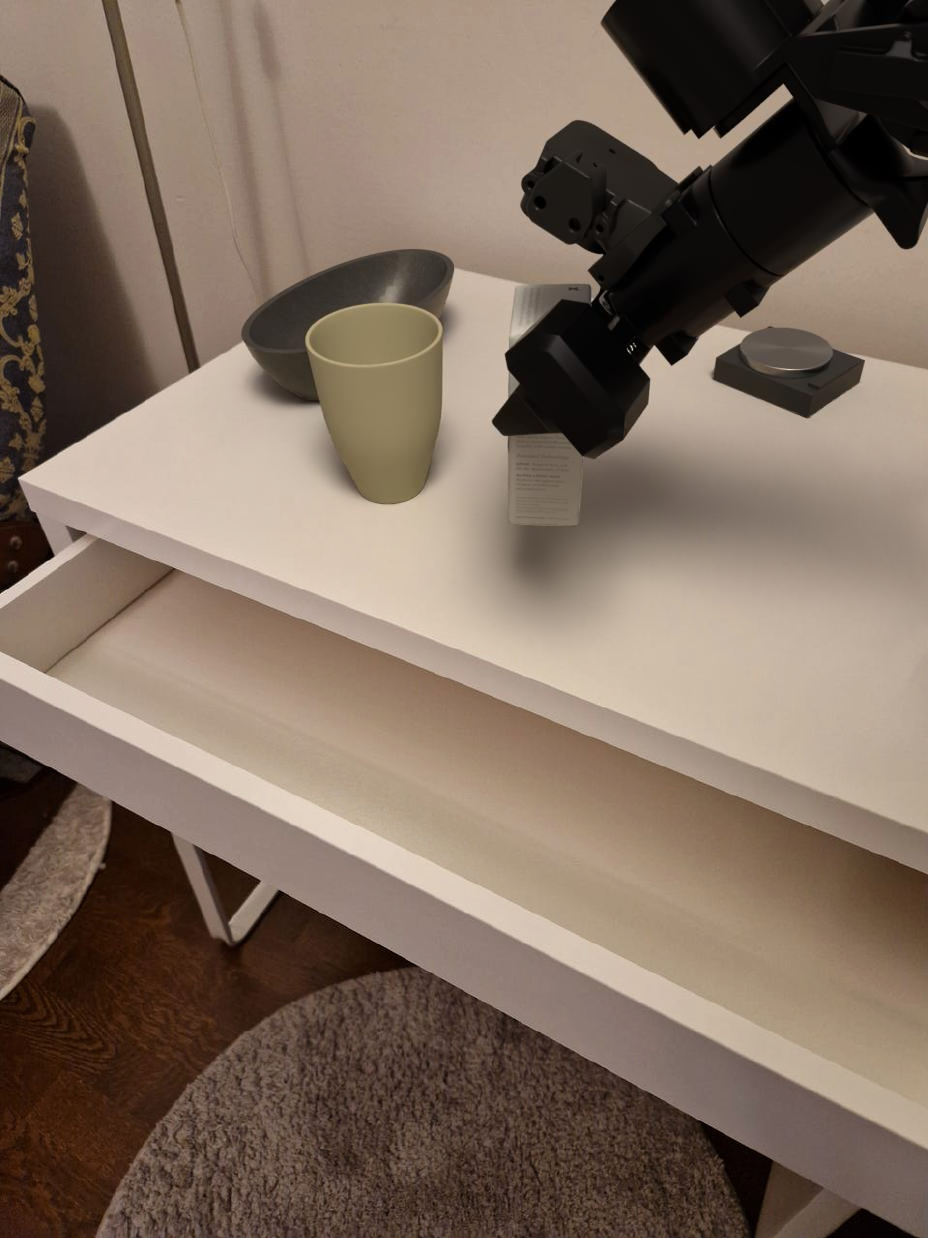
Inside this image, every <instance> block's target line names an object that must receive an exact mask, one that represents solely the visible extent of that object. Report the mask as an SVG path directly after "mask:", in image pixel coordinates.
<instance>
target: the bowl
mask: <svg viewBox="0 0 928 1238" xmlns="http://www.w3.org/2000/svg"><path fill="white" fill-rule="evenodd" d="M454 273H455V264H454V262H453V260H452V259H451V257H449V256H447V255H446V254H443V253H442V252H439V251H435V250H430V249H424V248H423V249H422V248H404V249H394V250H393V249H392V250H387V251H382V252H375V253H372V254H371V253H370V254H368V255H364V256H360V257H357V258H353V259H350V260H347V261H344V262H342V263H339V264H336V265H333V266H331V267H328V268H326V269H324V270H321V271H318V272H316V273H314V274H312V275H309V276H308V277H306V278H304V279H302V280H300V281H298V282H296V283H294V284H292V285H290V286H289V287H287V288H285V289H283V290H282V291H279V292H278V293H277V294H275V295H274V296H272V297H270V298H269V299H268V300H266V301H265V302H264V303H263V304H261V305H260V306H259V307H257V308H256V310H254V311H253V312H252V313H251V314H250V315H249V316H248V317H247V319H246V321H245V322H244V323H243V326H242V328H241V333H240V336H241V339H242V342H243V343H244V345H245V347H246V348H247V350H248V351H249V353H250V355H251V356H252V358H253V359H254V360H255V362H257V364H258V365H259V367H260V368H261V369H262V370H263V371H264V372H265V373H266V374H267V375H268V376H269V377H270V378H271V379H272V380H273V381H274V382H275V383H277V384H278V385H279V386H281V387H282V388H283V389H285V390H287V391H288V392H289V393H292V394H294V395H296V396H297V397H300V398H302V399H303V400H307V401H312V402H313V401H314V402H320V401H319V397H318V393H317V389H316V385H315V381H314V377H313V372H312V368H311V364H310V360H309V356H308V352H307V348H306V342H305V338H306V334H307V332H308V330H309V329H310V328H311V326H312V325H313V324H315V323H316V322H317V321H318V320H320V319H321V318H323V317H325V316H327V315H329V314H331V313H333V312H335V311H338V310H341V309H344V308H348V307H352V306H357V305H362V304H371V303H398V304H405V305H411V306H415V307H418V308H421V309H424V310H426V311H428V312H430V313H431V314H433V315H434V316H435V317H436V318H437V319H438V320H439V321H440V318H441V316H442V313H443V311H444V308H445V305H446V303H447V300H448V298H449V294H450V290H451V287H452V283H453V278H454Z"/></svg>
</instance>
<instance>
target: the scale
mask: <svg viewBox="0 0 928 1238" xmlns="http://www.w3.org/2000/svg"><path fill="white" fill-rule="evenodd" d="M714 362H715V363H714V368H713V369H714V370H713V376H712V380H714V381H717V382H719V383H721V384H724V385H726V386H728V387H731V388H733V389H736V390H738V391H740V392H744V393H745V394H748V395H751V396H752V397H755V398H758V399H761V401H762V400H763V401H765V402H768V403H770V404H772V405H775V406H777V407H780V408H782V409H784V410H787V411H789V412H791V413H795V414H797V415H799V416H802V417H804V418H807V419H808V418H810V417H811V416H812V415H814V414H816V413H817V412H819V411H820V410H822V409H823V408H824V407H826V406H827V405H829V404H830V403H832V402H833V401H834V400H836V399H837V398H839V397H840V396H842V395H843V394H845V393H846V392H847V391H849V390H850V389H852V388H854V387H855V386H857V384H859V383H860V382H861V379H862V375H863V370H864V367H865V363H866V360H865V359H863V358H860V357H857V356H854V355H852V354H850V353H846V352H843V351H842V350H838V349H835V348H833V346H832V345H831V344H830V342H829V341H828V340H827V339H825V338H824V337H822V336H820V335H818V334H816V333H814V332H810V331H808V330H804V329H799V328H793V327H774V326H771V325H769V326H767V327H765V328H761V329H758V330H755V331H752V332H750V333H749V334H747V335H746V336H745V337H743V339H742V340H741V342H740V343H738V344H736V345H735V346H733V347H731V348H730V349H728V350H726V351H724V352H723V353H720V354H719V355H718V356H716V357H715V361H714Z"/></svg>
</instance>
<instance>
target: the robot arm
mask: <svg viewBox="0 0 928 1238" xmlns="http://www.w3.org/2000/svg"><path fill="white" fill-rule="evenodd" d="M599 24H600V26H601V28H602V29H603V31H604V32H605V33H606V34H607V36H608V37H609V38H610V39H611V41H612V42H613V44H614V45H615V46H616V47H617V49H618V50H619V52H620V53H621V54H622V55H623V56H624V58H625V59H626V60H627V62H628V63H629V64H630V66H631V67H632V69H633V70H634V71H635V73H636V74H637V75H638V76H639V78H640V79H641V81H642V82H643V83H644V85H645V86H646V88H647V89H648V90H649V91H650V93H651V94H652V95H653V97H654V98H655V99H656V100H657V102H658V103H659V105H660V106H661V107H662V108H663V110H664V111H665V112H666V114H667V115H668V116H669V118H670V119H671V121H672V122H673V123H674V124H675V126H676V127H677V128H678V130H679V131H680V132H681V133H682V135H683V136H686V135H687V134H688V133H689V132H690V131H691V132H692V133H693V135H695V137H696V138H697V140H700V139H701V138H703V137H704V136H705V135H706V134H707V133H708V132H709V131H711V130H713V132H714V133H715V134H716V136H717V137H718V138H719V140H721V139H723V138H724V137H726V135H727V134H729V133H730V132H731V131H732V130H733V129H735V128H736V127H737V126H738V125H739V124H740V123H742V122H743V121H744V120H745V119H746V118H747V117H748V116H749V115H751V114H752V113H753V112H754V111H755V110H757V108H758V107H759V106H761V105H762V104H763V103H764V102H765V101H766V100H768V98H769V97H770V96H772V95H773V94H774V93H775V92H777V90H779V88H781V87H782V86H784V87H785V88H786V90H787V91H788V93H789V94H790V95H791V98H790V99H789V100H788V101H787V102H785V103H784V104H783V105H782V106H781V107H780V108H779V109H777V110H776V111H775V112H773V114H772V115H770V116H768V118H767V119H765V121H763V122H762V123H761V124H760V125H758V127H757V128H755V129H754V130H752V132H751V133H749V134H748V135H747V136H746V137H745V138H744V139H742V140H741V141H740V142H739V143H738V144H737V145H735V146H734V147H733V148H732V149H731V150H729V151H728V152H727V153H726V154H725V155H724V156H723V157H722V158H720V159H719V160H718V161H717V162H716V163H715V164H713V165H712V164H709V165H708V166H707V167H705V168H704V169H703V167H701V165H697V167H696V168H694V169H693V170H692V171H691V172H690V173H688V175H686V176H685V177H684V178H682V180H681V181H679V182H677V181H676V180H675V179H673V178H672V177H671V176H669V175H668V174H667V173H665V172H664V171H662V170H661V169H660V168H658V166H657V165H656V164H655V163H654V162H653V161H652V160H651V159H650V158H648V157H647V156H645V155H643V154H642V153H640V152H639V151H637V150H636V149H634V148H633V147H631V146H628V145H627V144H626V143H624V142H623V141H622V140H620V139H618V138H616V137H615V136H613V135H612V134H610V133H609V132H607V131H606V130H604V129H603V128H600V127H599V126H598V125H595V124H594V123H592V122H590V121H588V120H587V121H586V120H583V119H574V120H572V121H570V122H569V123H568V124H566V125H565V126H564V127H563V128H561V129H559V131H557V132H556V133H555V134H553V135H552V136H551V137H550V138H548V139H547V140H546V141H545V144H544V145H543V148H542V151H541V153H540V155H539V158H538V160H537V163H536V164H535V167H534V168H532V169H531V170H530V171H529V172H527V173H526V174H525V175H524V176H523V177H522V178H521V181H520V187H521V190H522V192H523V196H522V198H521V200H520V202H519V206H520V210H521V211H522V213H523V214H524V215H525V216H526V217H527V218H528V219H529V220H530V222H531V223H533V224H534V225H536V226H537V227H539V228H540V229H542V231H545V232H546V233H548V234H549V235H551V236H553V237H554V238H555V239H558V240H559V241H561V242H562V243H564V244H565V245H567V246H572V245H577V246H579V247H580V248H582V249H583V250H585V251H586V252H590V253H591V254H595V255H602V256H601V257H599V258H598V259H597V260H596V261H595V262H594V263H592V265H591V266H590V267H589V268H588V269H587V270H586V271H587V272H588V273H589V275H590V276H591V277H592V278H593V279H594V281H595V282H596V283H597V284H598V286H599V290H598V293H597V295H596V296H595V297H594V298H593V300H591V304H592V307H591V305H590V304H589V303H585V302H579V301H572V300H566V299H561V300H560V301H559V302H557V303H556V304H555V305H554V306H553V307H552V308H550V309H549V310H548V311H547V312H546V313H545V314H544V315H543V316H541V317H540V318H539V319H538V320H537V321H536V322H535V323H534V324H533V325H532V326H531V327H530V328H529V329H528V330H527V331H526V332H525V333H524V334H523V335H522V336H521V337H520V338H519V339H518V340H517V341H516V342H515V343H514V344H513V345H512V346H511V347H510V349H509V348H508V349H507V350H506V351H505V352H504V358H505V364H506V369H507V371H508V373H509V372H510V373H511V374H512V375H513V376H514V378H515V379H516V380H517V381H518V382H519V383H520V384H519V385H518V386H517V388H516V389H515V390H514V392H513V393H512V394H511V395H510V397H509V398H508V397H507V399H506V400H505V402H504V403H503V405H502V406H501V407H500V408H499V410H498V411H497V412H496V414H495V415H494V416H493V418H492V419H491V424H492V426H493V427H494V428H495V429H496V430H497V431H498V433H500V434H501V435H502V436H503V437H508V436H519V435H535V434H550V433H551V434H554V433H562V434H563V435H564V436H565V437H566V438H567V439H568V441H569V442H570V443H571V444H572V445H573V446H574V448H575V449H576V450H577V451H578V452H579V453H580V455H581V456H583V458H587V459H592V460H595V459H597V458H599V457H600V456H602V455H603V454H605V453H606V452H608V451H609V450H611V449H612V448H614V447H616V446H617V445H619V444H620V443H622V442H623V441H624V440H625V439H626V437H627V436H628V434H629V433H630V431H631V430H632V429H633V427H634V425H635V424H636V423H637V421H638V420H639V418H640V417H641V415H642V414H643V413H644V411H645V410H646V408H647V407H648V405H649V402H650V389H651V377H650V376H649V375H648V373H646V371H645V369H643V368H642V366H641V364H642V363H643V362H644V360H645V359H646V358H647V356H649V355H648V354H649V353H650V352H651V350H652V349H653V348H654V347H655V348H656V349H657V350H658V352H659V353H660V354H661V355H662V357H663V358H664V359H665V360H666V361H667V363H668V364H669V365H670V366H671V367H673V366H674V365H675V364H677V363H679V361H681V360H683V359H684V358H686V357H687V356H688V355H689V354H690V352H691V351H692V349H693V348H694V347H695V345H696V343H697V342H698V341H699V339H700V337H701V336H702V335H703V334H705V333H707V332H708V331H709V330H711V329H712V328H713V327H715V326H716V325H718V324H719V323H721V322H722V321H724V320H725V319H727V318H728V317H729V316H731V315H732V314H734V313H736V314H737V317H739V318H740V319H742V318H743V317H744V316H746V315H747V314H749V313H750V312H752V311H754V310H755V309H756V308H758V307H759V306H760V305H761V303H762V301H763V300H764V298H765V297H766V295H767V293H768V292H769V290H770V289H771V287H772V286H773V285H774V284H776V283H777V282H778V281H780V280H782V279H783V278H784V277H786V276H787V275H788V274H790V273H792V272H793V271H795V270H796V269H797V268H799V267H800V266H801V265H803V264H804V263H806V262H807V261H809V260H811V258H813V257H814V256H815V255H817V254H818V253H820V252H822V251H823V250H824V249H825V248H827V247H829V246H830V245H831V244H832V243H834V242H835V241H837V240H838V239H840V238H841V237H843V236H844V235H845V234H846V233H848V232H849V231H851V230H852V229H854V228H855V227H856V226H858V225H859V224H862V223H863V222H864V221H865V220H866V219H868V218H869V217H870V216H872V215H874V214H875V216H876V217H877V218H878V219H879V221H880V222H881V224H882V225H883V226H884V228H885V229H886V231H887V232H888V233H889V235H890V236H891V238H892V239H893V240H894V242H895V243H896V245H897V247H899V248H900V249H902V250H904V251H905V250H911V249H913V248H915V247H916V245H917V244H918V243H919V241H920V238H921V235H922V234H923V231H924V228H925V225H926V224H927V221H928V0H828V1H827V2H826V3H823V1H822V0H614V2H613V3H612V4H611V5H610V7H609V8H608V10H607V11H606V12H605V14H604V15H603V16H602V18H601V21H600V23H599ZM908 150H909V152H910V153H911V154H913V155H911V154H910V153H909V152H908ZM917 156H919V157H917ZM920 157H923V158H920ZM924 158H927V159H924Z"/></svg>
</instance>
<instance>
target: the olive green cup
mask: <svg viewBox="0 0 928 1238" xmlns="http://www.w3.org/2000/svg"><path fill="white" fill-rule="evenodd" d="M305 342H306V348H307V352H308V356H309V360H310V364H311V368H312V372H313V377H314V381H315V385H316V389H317V393H318V397H319V401H318V402H319V405H320V409H321V413H322V417H323V419H324V423H325V426H326V429H327V431H328V434H329V437H330V438H331V441H332V442H333V445H334V447H335V450H336V451H337V453H338V454H339V456H340V458H341V461H342V462H343V464H344V465H345V467H346V469H347V471H348V473H349V475H350V477H351V478H352V480H353V482H354V484H355V486H356V488H357V490H358V492H359V493H360V494H361V496H362V497H364V498H365V499H367V500H368V501H370V502H373V503H377V504H381V505H382V504H385V505H389V504H390V505H391V504H399V503H404V502H407V501H409V500H411V499H413V498H415V497H416V496H417V495H418V494H420V493H421V491H422V490H423V488H424V486H425V483H426V480H427V479H426V478H427V476H428V472H429V468H430V464H431V462H432V457H433V454H434V451H435V450H434V449H435V446H436V442H437V439H438V436H439V431H440V426H441V419H442V411H443V409H442V408H443V373H444V372H443V369H444V368H443V366H444V365H443V362H444V361H443V360H444V359H443V357H444V356H443V355H444V353H443V352H444V351H443V350H444V328H443V325H442V323H441V321H440V319H439V320H438V319H437V318H436V317H435V316H434V315H433V314H431V313H430V312H428V311H426V310H424V309H421V308H418V307H415V306H411V305H405V304H398V303H371V304H362V305H357V306H352V307H348V308H344V309H341V310H338V311H335V312H333V313H331V314H329V315H327V316H325V317H323V318H321V319H320V320H318V321H317V322H316V323H315V324H313V325H312V326H311V328H310V329H309V330H308V332H307V334H306V338H305Z"/></svg>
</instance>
